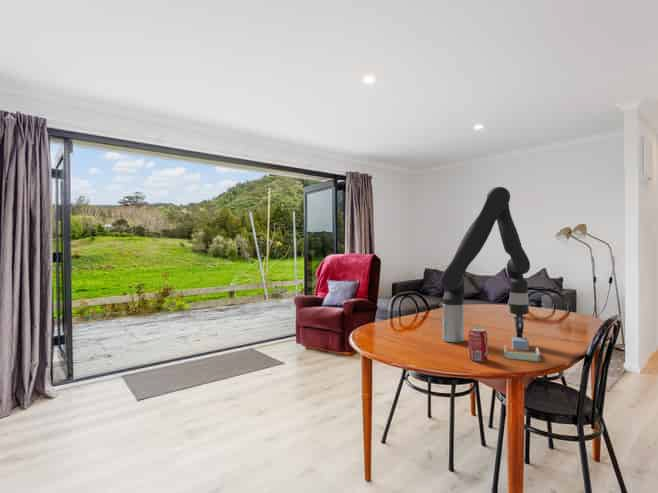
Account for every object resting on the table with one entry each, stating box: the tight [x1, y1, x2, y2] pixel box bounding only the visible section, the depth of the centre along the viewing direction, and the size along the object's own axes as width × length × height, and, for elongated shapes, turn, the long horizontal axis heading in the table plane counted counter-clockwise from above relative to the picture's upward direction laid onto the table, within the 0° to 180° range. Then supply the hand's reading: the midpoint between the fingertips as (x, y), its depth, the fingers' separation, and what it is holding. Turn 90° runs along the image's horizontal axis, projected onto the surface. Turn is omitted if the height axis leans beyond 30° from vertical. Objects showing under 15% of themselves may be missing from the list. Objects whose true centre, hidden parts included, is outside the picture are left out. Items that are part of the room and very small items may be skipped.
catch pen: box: [503, 344, 541, 362], centre depth 153 cm, size 13×11×2 cm
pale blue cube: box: [511, 336, 530, 351], centre depth 164 cm, size 6×6×4 cm
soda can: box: [467, 327, 489, 363], centre depth 149 cm, size 7×7×12 cm
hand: (519, 341), depth 169 cm, fingers closed
